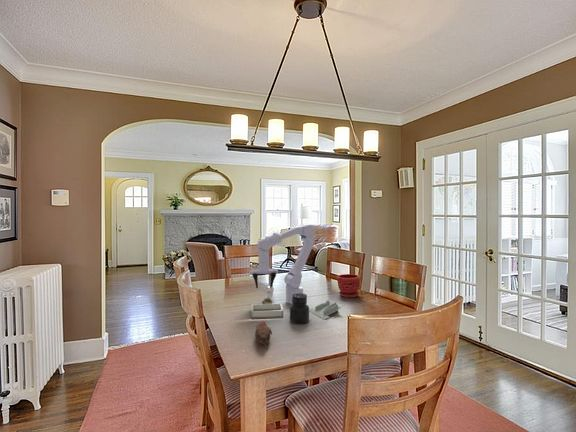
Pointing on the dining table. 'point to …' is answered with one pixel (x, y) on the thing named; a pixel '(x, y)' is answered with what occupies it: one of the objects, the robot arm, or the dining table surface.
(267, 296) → the silver rounded piece
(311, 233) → the robot arm
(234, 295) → the dining table surface
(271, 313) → the tray
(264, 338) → the bird sculpture
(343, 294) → the plant pot
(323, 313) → the metal bracket
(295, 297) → the ink bottle
